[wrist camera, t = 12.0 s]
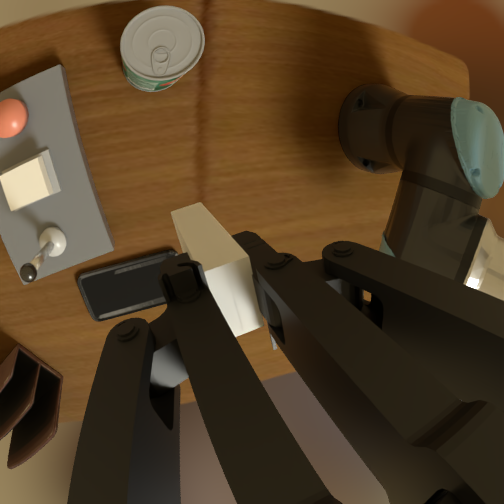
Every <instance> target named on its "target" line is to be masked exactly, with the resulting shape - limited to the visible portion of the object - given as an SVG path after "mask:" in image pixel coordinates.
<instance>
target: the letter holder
mask: <svg viewBox="0 0 504 504" xmlns="http://www.w3.org/2000/svg"><path fill="white" fill-rule="evenodd" d="M62 383H63V376H62V375H61V374H59V373H58V372H56V371H55V370H54V369H52V368H51V367H49V366H48V365H47V364H45V363H44V362H43V361H41V360H40V359H39V358H37V357H36V356H35V355H33V354H32V353H31V352H29V351H28V350H27V349H25V348H24V347H23V346H22V345H20V344H19V343H18V344H17V346H16V347H15V348H14V349H13V350H12V351H11V353H10V354H9V355H8V356H7V358H6V359H5V360H4V361H3V362H2V364H1V365H0V440H1V439H2V438H3V437H5V436H6V435H7V434H8V433H9V432H10V431H11V430H12V429H13V431H12V437H11V443H10V449H9V455H8V462H7V466H8V468H9V469H13V468H15V467H17V466H19V465H21V464H22V463H24V462H26V461H27V460H28V459H29V458H31V457H32V456H33V455H35V454H36V453H37V452H38V451H39V450H40V449H42V448H43V447H44V446H45V445H46V444H47V443H48V442H49V441H50V440H51V439H52V438H53V437H54V436H55V434H56V432H57V428H58V418H59V409H60V399H61V390H62Z"/></svg>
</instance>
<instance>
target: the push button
mask: <svg viewBox="0 0 504 504" xmlns="http://www.w3.org/2000/svg"><path fill="white" fill-rule="evenodd" d="M28 118H29V112H28V108H27V106H26V104H25V103H24V102H22V101H21V100H17V99H5V100H3V101H1V102H0V137H1V138H8V137H14V136H17V135H18V134H20V133H21V132H22V131H23V130H24V128H25V127H26V125H27V122H28Z"/></svg>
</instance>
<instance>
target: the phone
mask: <svg viewBox="0 0 504 504" xmlns="http://www.w3.org/2000/svg"><path fill="white" fill-rule="evenodd" d="M177 255H178V253H177V252H176V251H175V250H166V251H162V252H159V253H154V254H150V255H147V256H142V257H140V258H136V259H133V260H129V261H125V262H122V263H118V264H114V265H111V266H107V267H103V268H100V269H96V270H93V271H89V272H86V273H82V274H81V275H80V276H79V277H78V282H77V283H78V286H79V289H80V291H81V294H82V296H83V299H84V301H85V303H86V306H87V308H88V311H89V313H90V315H91V317H92V319H93V320H95V321H104V320H108V319H112V318H115V317H119V316H123V315H127V314H130V313H134V312H138V311H141V310H145V309H149V308H152V307H156V306H160V305H163V304H167V302H166V300H165V298H164V295H163V292H162V290H161V287H160V285H159V282H158V275H159V274H160V273H161V271H160V266H161V264H162V262H163V260H165V259H168V258H171V257H174V256H177Z"/></svg>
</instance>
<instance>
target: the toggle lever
mask: <svg viewBox="0 0 504 504" xmlns="http://www.w3.org/2000/svg"><path fill="white" fill-rule="evenodd" d="M54 247H55V246H54V243H53V242H52V241H48V242H47V243H46V244H45V245H44V246H43V247H42V248H41V250H40V251H39V252H38V253H37V254H36V255H35V257H34V258H33V259H32V260H31V261H30V263H25V264H23V265H22V267H21V269H20V276H21V278H22V280H23V281H25V282H28V283H30V282H33V281H34V280H35V279H36V277H37V270H38V269H39V267H40V266H41V265H42V263H43V262H44V261H45V259H46V258H47V257H48V256H49V254H50V253H51V252H52V251H53V249H54Z"/></svg>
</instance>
